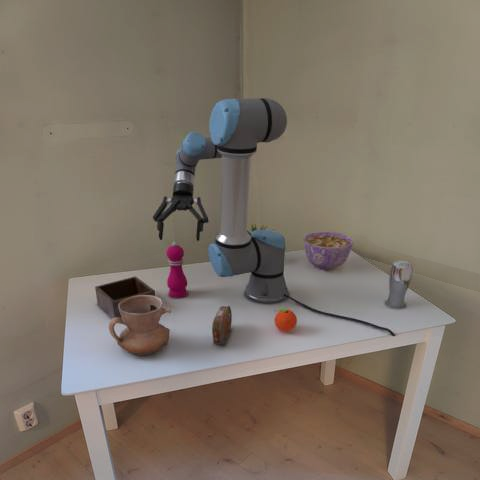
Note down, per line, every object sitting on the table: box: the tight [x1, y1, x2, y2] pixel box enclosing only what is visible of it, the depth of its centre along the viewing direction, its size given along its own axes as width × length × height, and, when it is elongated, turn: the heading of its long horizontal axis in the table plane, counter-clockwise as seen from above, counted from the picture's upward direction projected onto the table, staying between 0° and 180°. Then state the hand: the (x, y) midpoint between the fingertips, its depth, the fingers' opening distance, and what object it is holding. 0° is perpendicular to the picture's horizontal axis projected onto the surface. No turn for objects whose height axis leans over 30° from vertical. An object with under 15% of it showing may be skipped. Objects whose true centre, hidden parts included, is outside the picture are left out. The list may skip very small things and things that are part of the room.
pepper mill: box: [166, 241, 188, 299], centre depth 160 cm, size 7×7×20 cm
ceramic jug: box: [108, 295, 172, 356], centre depth 130 cm, size 18×14×14 cm
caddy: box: [94, 276, 158, 320], centre depth 154 cm, size 15×15×7 cm
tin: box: [211, 305, 233, 346], centre depth 137 cm, size 15×3×8 cm, turn 168°
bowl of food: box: [303, 231, 354, 271], centre depth 186 cm, size 20×20×12 cm
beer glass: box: [385, 260, 414, 309], centre depth 154 cm, size 7×7×15 cm
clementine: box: [274, 308, 298, 333], centre depth 141 cm, size 8×7×7 cm
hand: (179, 238), depth 163 cm, fingers open, 13 cm apart
